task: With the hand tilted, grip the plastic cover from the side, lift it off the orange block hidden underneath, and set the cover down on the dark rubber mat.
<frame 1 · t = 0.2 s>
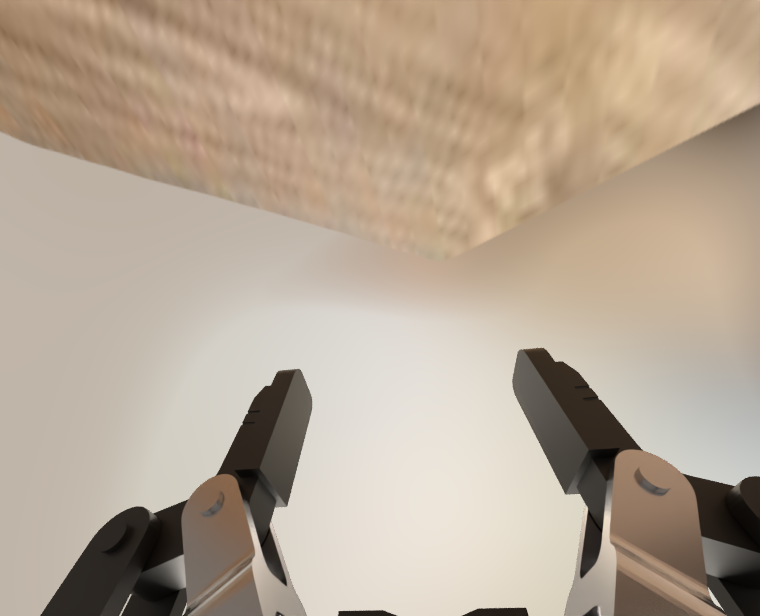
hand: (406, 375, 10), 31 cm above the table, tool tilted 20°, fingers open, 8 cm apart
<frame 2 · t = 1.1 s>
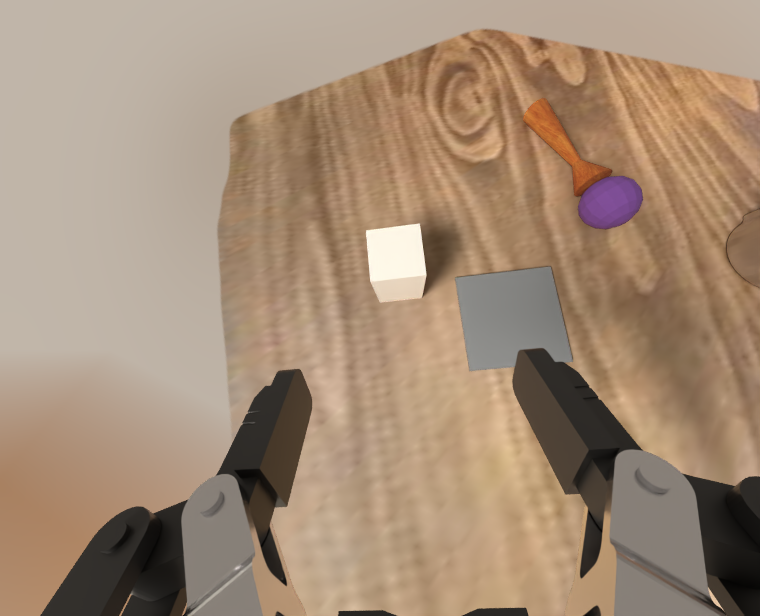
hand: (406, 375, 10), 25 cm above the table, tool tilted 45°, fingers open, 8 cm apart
mat: (510, 318, 34), on the table
cover: (398, 280, 37), on the table
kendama: (564, 175, 38), on the table
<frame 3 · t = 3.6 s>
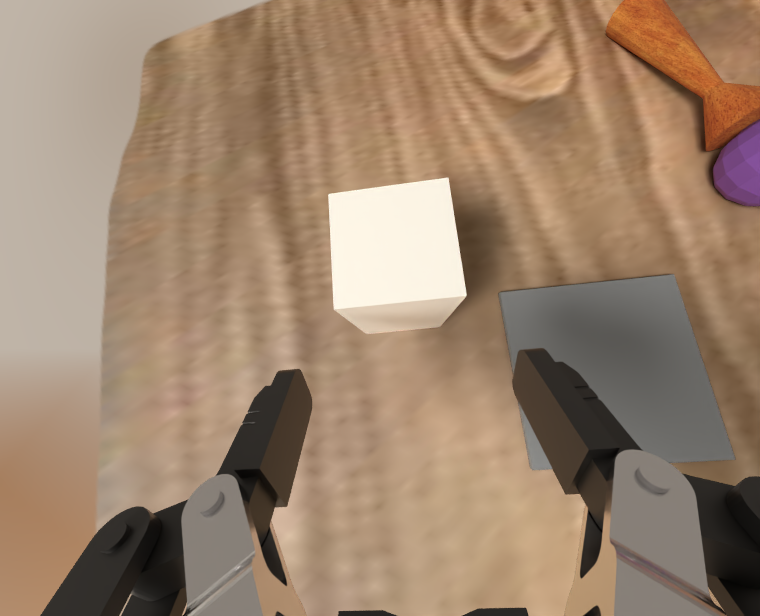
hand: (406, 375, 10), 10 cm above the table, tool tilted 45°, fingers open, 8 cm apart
mat: (602, 367, 19), on the table
cover: (399, 295, 21), on the table
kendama: (675, 119, 22), on the table
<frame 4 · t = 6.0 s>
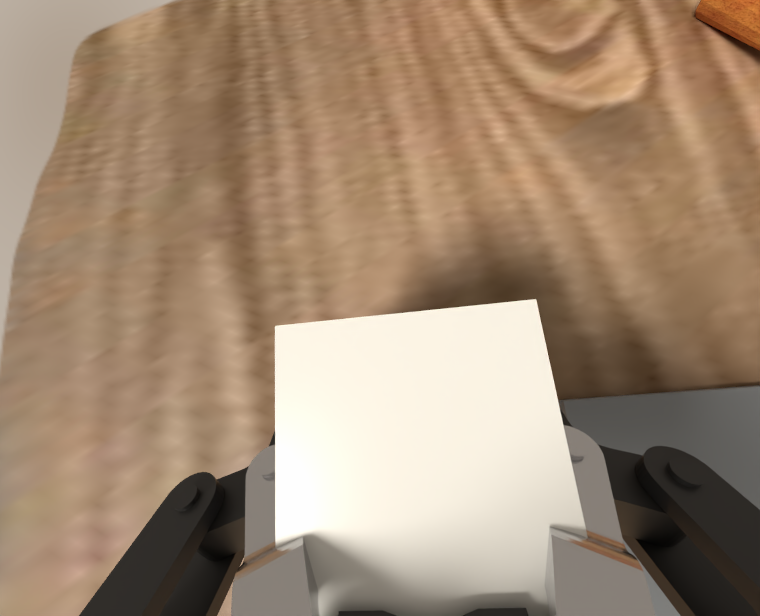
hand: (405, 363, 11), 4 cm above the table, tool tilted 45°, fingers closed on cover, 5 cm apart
mat: (731, 531, 12), on the table
cover: (410, 397, 14), on the table, touching gripper
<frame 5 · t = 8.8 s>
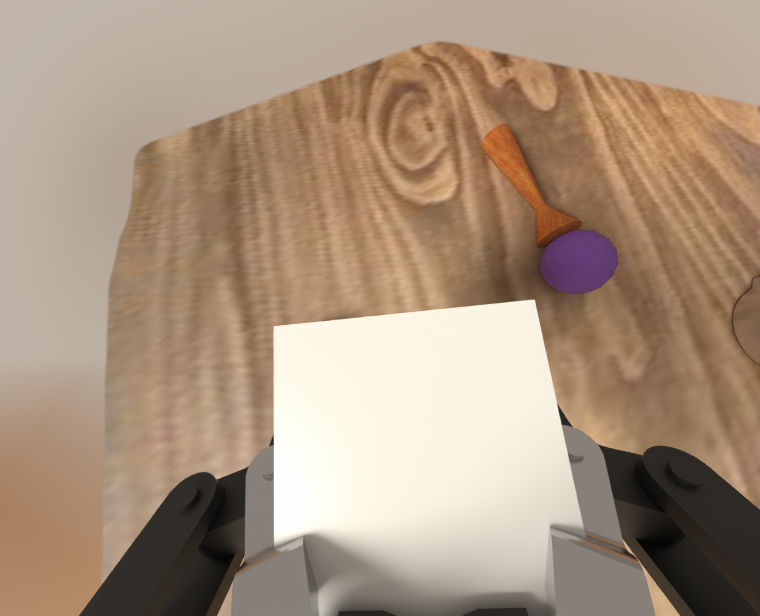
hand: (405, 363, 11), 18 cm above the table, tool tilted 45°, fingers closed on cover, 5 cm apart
cover: (409, 397, 14), point 14 cm above the table, touching gripper
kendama: (527, 218, 31), on the table
when the fingers open (6 cm above the table, at t = 12.1 s): cover drops 1 cm, resting on mat.
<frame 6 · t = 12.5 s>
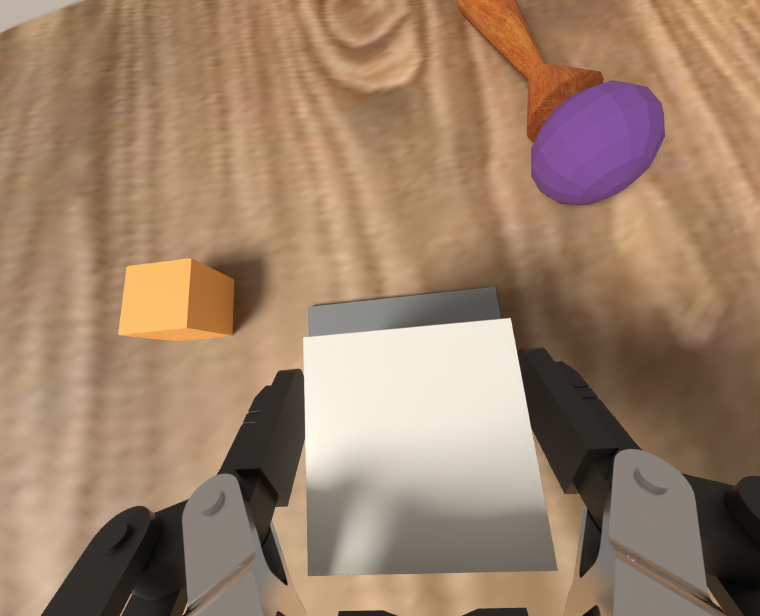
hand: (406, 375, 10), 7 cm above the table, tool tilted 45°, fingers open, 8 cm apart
mat: (409, 394, 16), on the table
cover: (410, 396, 16), resting on mat
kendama: (519, 107, 20), on the table
block: (207, 310, 19), on the table
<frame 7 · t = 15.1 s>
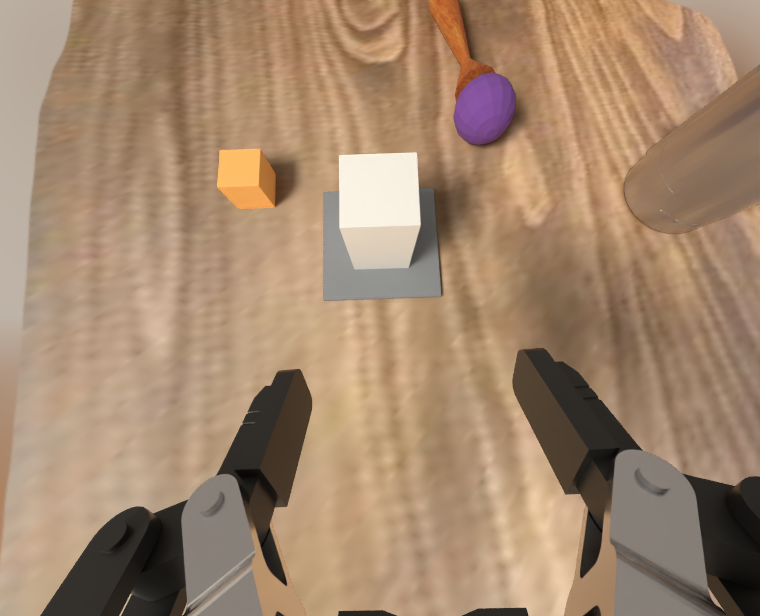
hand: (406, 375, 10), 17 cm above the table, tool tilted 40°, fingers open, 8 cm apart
mat: (380, 243, 29), on the table
cover: (380, 243, 28), resting on mat
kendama: (458, 84, 32), on the table
block: (258, 192, 30), on the table
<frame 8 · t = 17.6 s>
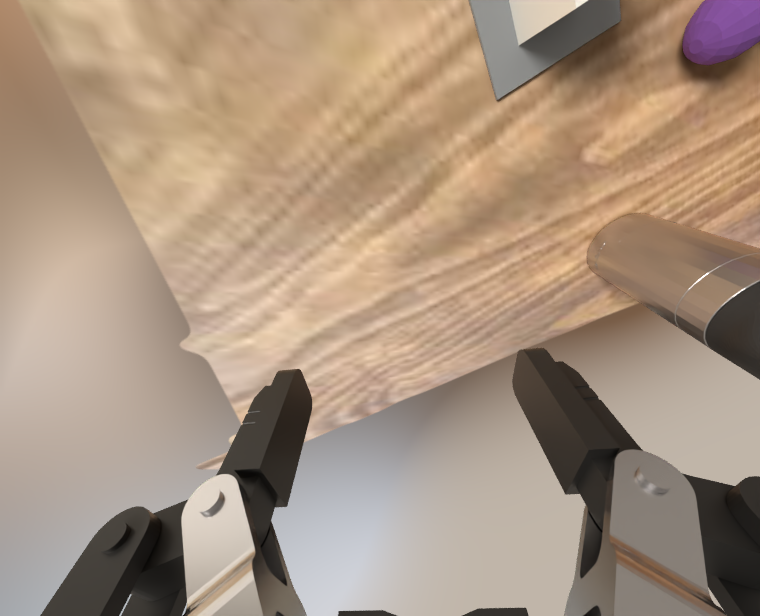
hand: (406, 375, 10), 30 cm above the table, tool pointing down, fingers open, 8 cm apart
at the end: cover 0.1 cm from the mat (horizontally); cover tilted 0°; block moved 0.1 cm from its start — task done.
